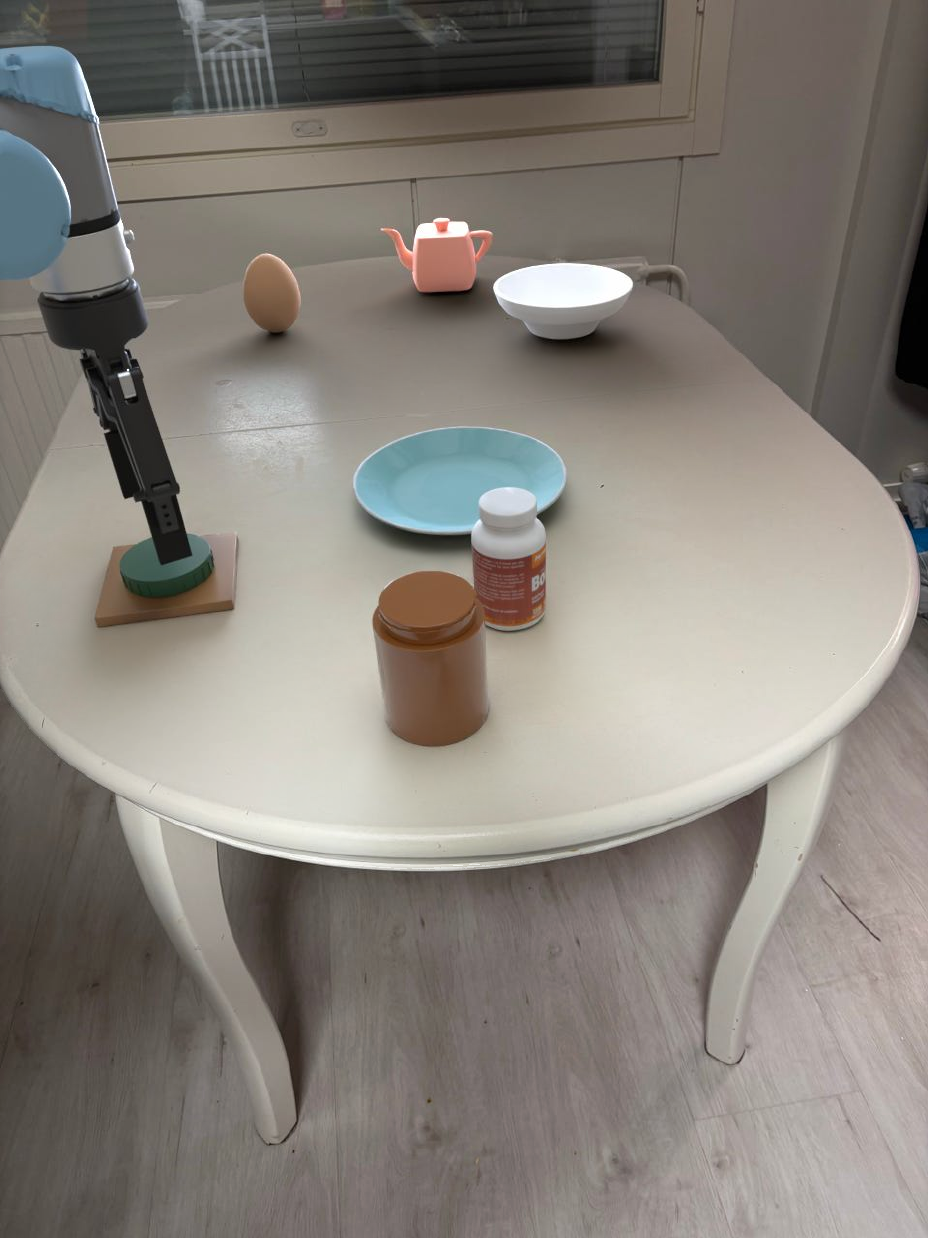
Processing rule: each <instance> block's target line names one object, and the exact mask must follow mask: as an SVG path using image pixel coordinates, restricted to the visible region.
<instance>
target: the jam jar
mask: <svg viewBox="0 0 928 1238" xmlns="http://www.w3.org/2000/svg"><path fill="white" fill-rule="evenodd" d="M377 603H378V605H377V607H376V608H375V609H374V612H373V614H372V618H371V619H372V620H371V621H372V624H371V625H372V631H373V638H374V645H375V653H376V661H377V667H378V675H379V683H380V691H381V697H382V704H383V712H384V719H385V722H386V724H387V726H388V727H389V729H390V730H391V731H392V732H393V733H394V734H395V735H396V736H397V737H399V738H400V739H402V740H403V741H406V742H408V743H411V744H414V745H419V746H425V747H441V746H447V745H453V744H455V743H458V742H461V741H463V740H466V739H468V738H469V737H471V736H472V735H474V734H475V733H477V731H479V729H480V728H481V727H482V726H483V725H484V724H485V722H486V721H487V718H488V715H489V711H490V704H489V703H490V701H489V683H488V682H489V681H488V657H487V656H488V655H487V654H488V653H487V633H486V624H485V612H484V608H483V606H482V604H481V602H480V601H479V600H478V598H477V593H476V590H475V589H474V586H473V585H472V584H471V583H470V582H469V581H468V580H466V579H465V578H464V577H462V576H460V575H458V574H455V573H452V572H449V571H442V570H419V571H414V572H410V573H407V574H403V575H402V576H399V577H397V578H394V579H393V580H392V581H390V582H389V583H388V584H387V585H385V586H384V587H383V589H382V590H381V592H380V595H379V596H378V602H377Z"/></svg>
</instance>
